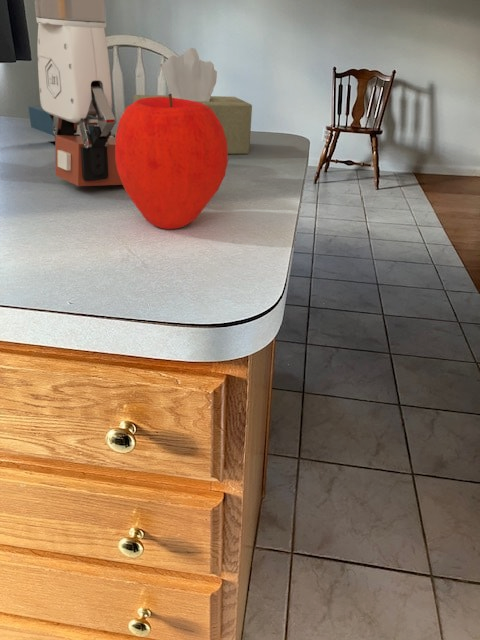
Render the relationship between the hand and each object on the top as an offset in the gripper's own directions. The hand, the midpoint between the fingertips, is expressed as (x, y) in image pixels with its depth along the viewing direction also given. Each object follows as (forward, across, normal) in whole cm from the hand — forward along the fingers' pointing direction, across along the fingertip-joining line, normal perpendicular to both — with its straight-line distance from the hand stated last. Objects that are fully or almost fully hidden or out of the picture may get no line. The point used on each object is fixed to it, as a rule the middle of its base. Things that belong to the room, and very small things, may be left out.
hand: (82, 171), depth 69 cm
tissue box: (+2, -13, +27) cm, 31 cm away
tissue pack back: (+2, -29, +11) cm, 31 cm away
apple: (+2, +17, +2) cm, 17 cm away
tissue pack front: (+1, 0, +3) cm, 4 cm away
